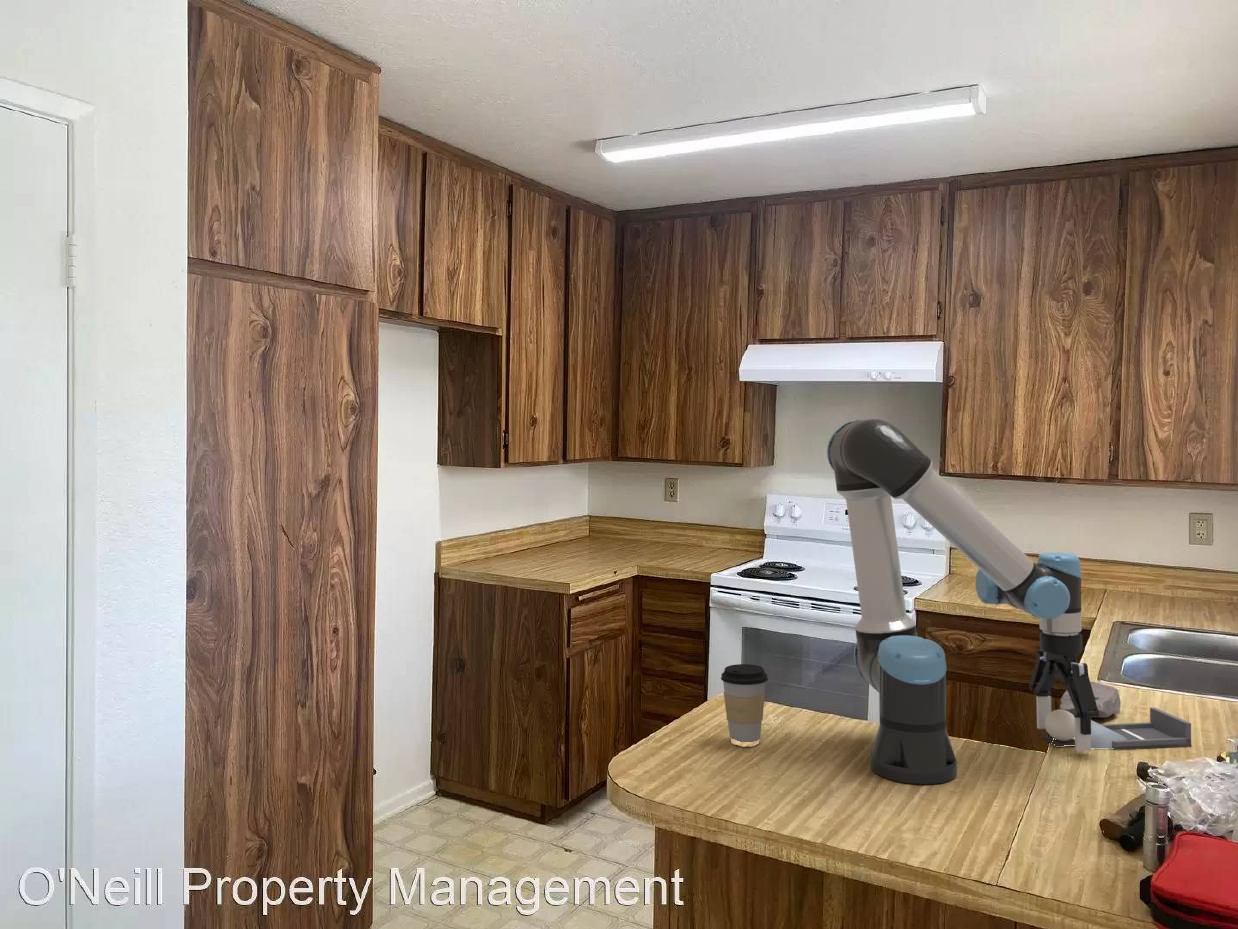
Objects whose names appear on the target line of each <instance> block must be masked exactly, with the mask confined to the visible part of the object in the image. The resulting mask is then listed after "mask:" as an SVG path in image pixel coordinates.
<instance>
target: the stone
mask: <svg viewBox="0 0 1238 929" xmlns="http://www.w3.org/2000/svg"><path fill="white" fill-rule="evenodd" d="M1090 683H1091V687H1092V690H1093V694H1094V697H1095V701H1096V704H1097V708H1098V712H1099V716H1096V717H1095V718H1101V719H1102V718H1104V719H1105V718H1108V717H1110V716H1111V715H1114V714H1116V713H1118V712H1119V713H1120V711H1121V704H1122V702H1121V698H1120V694H1119V689H1118V688H1116V687H1114V686H1111V685H1106V684H1102V683H1099V682H1097V681H1096V682H1095V681H1090ZM1059 709H1061V710H1066V711H1068V712H1070V713H1071V714H1073V715H1074V716H1075V715H1076V714H1077V713H1076V710H1075V708H1074V705H1073V703H1072V700H1071V698H1070V696H1069V693H1068V691H1067V690H1066V691H1065V692H1064V693H1063V695H1062V696H1061V698H1060V705H1059ZM1119 713H1118V714H1119ZM1116 715H1117V714H1116Z"/></svg>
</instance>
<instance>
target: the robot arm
mask: <svg viewBox="0 0 1238 929" xmlns="http://www.w3.org/2000/svg"><path fill="white" fill-rule="evenodd" d="M826 456H827V460H828V464H829V465H830V467H831V469H832V470H833V471H834V472H833V474H834V481H835V485H836V487H835V488H836V492H837V494H839V496H842V497H843V498H844V499H845V502H846V509H847V517H848V524H849V532H850V539H851V546H852V555H853V561H854V570H855V577H856V584H857V585H856V586H857V593H858V601H859V605H860V606H859V607H860V614H861V617H860V618H861V619H860V620H859V621H858V622H857V623H856V624H855V627H854V630H855V637H856V642H855V645H854V650H853V659H854V663H855V667H856V669H857V671H858V673H859V675H860V676H861V678H862V679H863V680H864V681H865V683H867V684H869V685H870V686H871V687H872V688H873V689H874V690H875V691H876V692H878V695H879V696H878V704H879V705H878V706H879V710H878V713H879V714H878V715H879V726H878V730H877V733H876V736H875V739H874V742H873V744H872V748H871V750H870V751H871V752H870V755H869V760H870V763H869V765H870V769H871V770H872V771H873V772H874V774H876V775H878V776H881V777H882V778H885V779H888V780H891V781H895V782H900V783H905V784H913V785H914V784H915V785H934V784H935V785H936V784H937V785H938V784H942V783H946V782H950V781H952V780H953V779H955V778H956V777H957V776H958V763H957V762H958V760H957V758H956V754H955V752H954V749H953V747H952V742H951V740H950V737H949V734H948V732H947V682H946V681H947V674H946V673H947V669H948V667H947V666H948V665H947V662H946V654H945V651H944V649H943V648H942V646H941V645H940V644H939V643H937V642H935V641H934V640H931V639H928V638H925V639H924V637H922V636H918V629H917V624H916V621H915V620H914V619H913V618H911V617H910V616H909V615H908V614H907V610H906V601H905V594H904V593H905V592H904V587H903V585H904V584H903V580H902V579H903V578H902V571H901V564H900V556H899V555H900V554H899V550H898V547H899V546H898V542H897V541H898V540H897V533H896V526H895V518H894V517H895V516H894V511H893V503H892V498H893V499H894V500H900V499H901V500H902V501H904V502H906V503H907V504H908V506H910V507H911V508H912V509H913V510H914V511H915V512H916V513H917V514H918V515H920V516H921V517H922V518H923V519H924V520H925V521H926V522H927V523H928V524H930V526H932V527H933V528H934V529H935V530H936V531H937V532H938V533H940V534H941V535H942V537H944V538H945V539H946V540H947V541H948V543H950V544H951V545H953V546H954V547H955V548H956V549H957V550H958V551H959V552H960V553H962V555H963V556H964V557H966V558H967V559H968V560H969V561H970V562H971V563H973V565H975V566H976V567H977V568H978V570H977V571H976V575H975V590H976V594H977V597H978V599H979V601H981V603H983V604H986V605H996V606H999V605H1008V606H1010V607H1013V608H1016V609H1018V610H1021V611H1023V612H1025V613H1027V614H1030V615H1031V617H1034V618H1038V619H1039V629H1040V631H1041V632H1039V649H1037V650H1036V660H1035V664H1034V668H1033V671H1032V674H1031V677H1030V678H1031V679H1030V682H1029V687H1028V688H1029V690H1031V691H1033V693H1034V695H1035V698H1036V700H1035V703H1036V729H1038V730H1046V728H1045V719H1046V717H1047V715H1048V714H1049V713H1050V712H1052V696H1051V695H1052V692H1051V690H1052V688H1053V687H1054V684H1055V683H1056V681H1057V680H1058V681H1060V682H1061V684H1062V685H1063V686H1065V688H1066V691H1068V693H1069V696H1070V698H1071V700H1072V703H1073V705H1074V708H1075V710H1076V713H1077V714H1076V715H1075V716H1074V717H1075V747H1074V750H1075V751H1076V752H1087V751H1088V752H1089V751H1092V749H1091V720H1092V718H1097V717H1096V716H1099V712H1098V708H1097V704H1096V701H1095V697H1094V694H1093V690H1092V687H1091V683H1090V682H1091V680H1090V677H1089V668H1088V664H1087V663H1086V662H1084V663H1083V662H1082V663H1078V660H1077V656H1078V655H1080V654H1082V652H1083V635H1082V634H1081V632H1082V630H1083V628H1082V626H1083V625H1082V618H1083V615H1082V579H1083V577H1082V569H1081V561H1080V558H1079V557H1078V555H1076V554H1074V553H1068V552H1042V553H1040V554H1039V555H1038V558H1037V563H1035V562H1034V561H1032V560H1031V558H1030V557H1029V556H1028V555H1026V554H1025V553H1024V551H1023V550H1021V549H1020V548H1019V547H1018V546H1016V545H1015V543H1014V542H1012V541H1011V540H1010V539H1009V538H1008V537H1007V536H1006V535H1005V534H1004V533H1003V532H1001V531H1000V530H999V529H998V528H997V527H996V526H995V525H994V524H992V522H991V521H989V520H988V519H987V518H986V517H985V516H984V515H983V514H982V513H981V512H980V511H978V509H976V508H975V507H974V505H972V504H971V503H970V502H969V501H968V500H967V499H965V498H964V497H963V496H962V494H960V493H959V492H958V491H957V490H956V489H954V487H952V486H951V484H949V483H948V482H947V481H946V480H945V479H944V478H943V477H942V476H941V475H940V474H938V472H937V471H935V470H934V469H933V460H932V459H931V458H929V456H927V455H926V454H925V453H924V451H922V450H921V449H920V448H919V447H918V445H916V443H914V442H913V441H912V440H911V439H910V438H909V437H908V436H907V435H906V434H905V433H903V432H902V430H901V429H900V428H898V427H896V426H895V425H894V424H893V423H891V422H889V421H886V420H883V419H879V418H870V419H869V418H868V419H855V420H851V421H847V423H844V424H842V425H841V426H839V427H838V428H837V429H836V430H835V431H834V432H833V433H832V434H831V436H830V438H829V439H828V443H827V448H826Z"/></svg>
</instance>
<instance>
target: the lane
mask: <svg viewBox="0 0 1238 929" xmlns="http://www.w3.org/2000/svg"><path fill="white" fill-rule="evenodd" d="M1101 725H1102V726H1104V727H1106V728H1108V729H1110V730H1112V731H1114V732H1116V733H1118V734H1120V735H1122V736H1123V737H1125V738H1126V739H1127V740H1121V741H1112V748H1114V749H1126V750H1142V749H1143V750H1144V749H1146V750H1147V749H1164V748H1184V747H1185V748H1186V747H1187V748H1188V747H1192V723H1191V722H1190V721H1187V720H1184V719H1182V718H1181V717H1178V716H1175V715H1173V714H1170V713H1168V712H1166V711H1164V710H1161V709H1159V708H1157V707H1149V721H1147V722H1131V723H1130V722H1129V723H1127V722H1126V723H1107V724H1105V723H1104V724H1101ZM1114 749H1113V750H1114Z"/></svg>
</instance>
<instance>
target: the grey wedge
mask: <svg viewBox="0 0 1238 929" xmlns="http://www.w3.org/2000/svg"><path fill="white" fill-rule="evenodd" d="M1121 740H1127V739H1126V738H1125V737H1123V736H1122V735H1120V734H1118V733H1116V732H1114V731H1112V730H1110V729H1108V728H1106V727H1104V726H1102V724H1100V723H1098V722H1096V721H1094V720H1092V719H1091V748H1112V741H1121Z"/></svg>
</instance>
